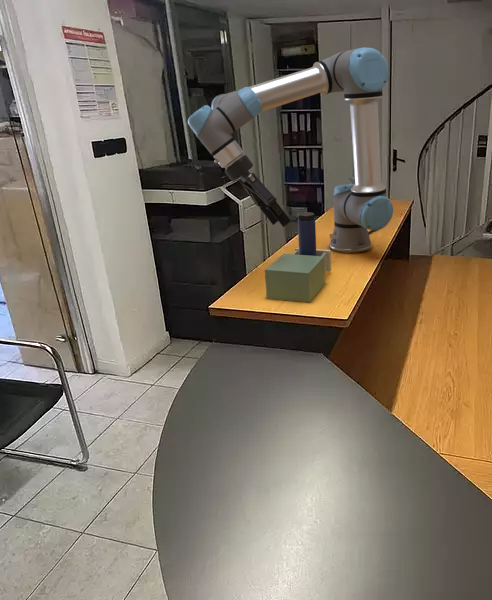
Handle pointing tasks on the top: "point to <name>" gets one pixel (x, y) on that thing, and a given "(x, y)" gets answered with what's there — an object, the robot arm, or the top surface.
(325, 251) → the drawer
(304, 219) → the flask
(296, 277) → the cabinet
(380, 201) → the robot arm
